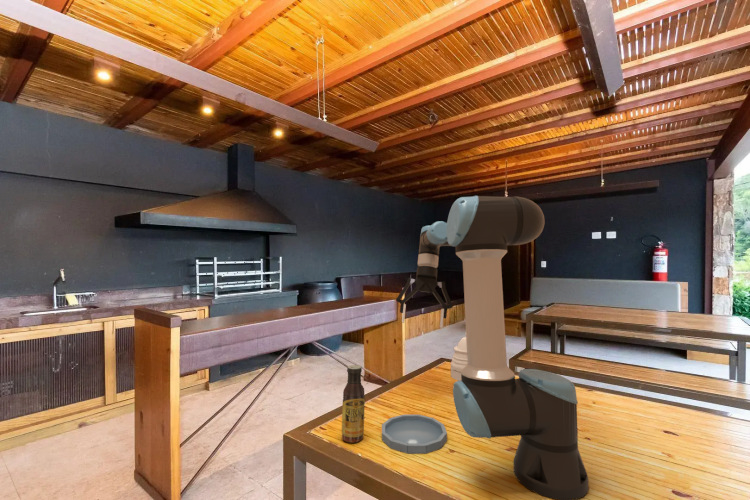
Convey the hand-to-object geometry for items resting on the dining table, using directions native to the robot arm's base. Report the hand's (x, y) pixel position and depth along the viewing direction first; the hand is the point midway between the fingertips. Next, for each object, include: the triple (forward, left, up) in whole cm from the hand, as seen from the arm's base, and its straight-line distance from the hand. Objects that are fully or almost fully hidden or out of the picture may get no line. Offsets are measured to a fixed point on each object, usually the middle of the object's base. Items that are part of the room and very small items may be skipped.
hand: (421, 325), depth 123 cm
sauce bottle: (-26, +23, -27) cm, 44 cm away
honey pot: (+25, -21, -27) cm, 42 cm away
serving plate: (-25, +6, -27) cm, 37 cm away
